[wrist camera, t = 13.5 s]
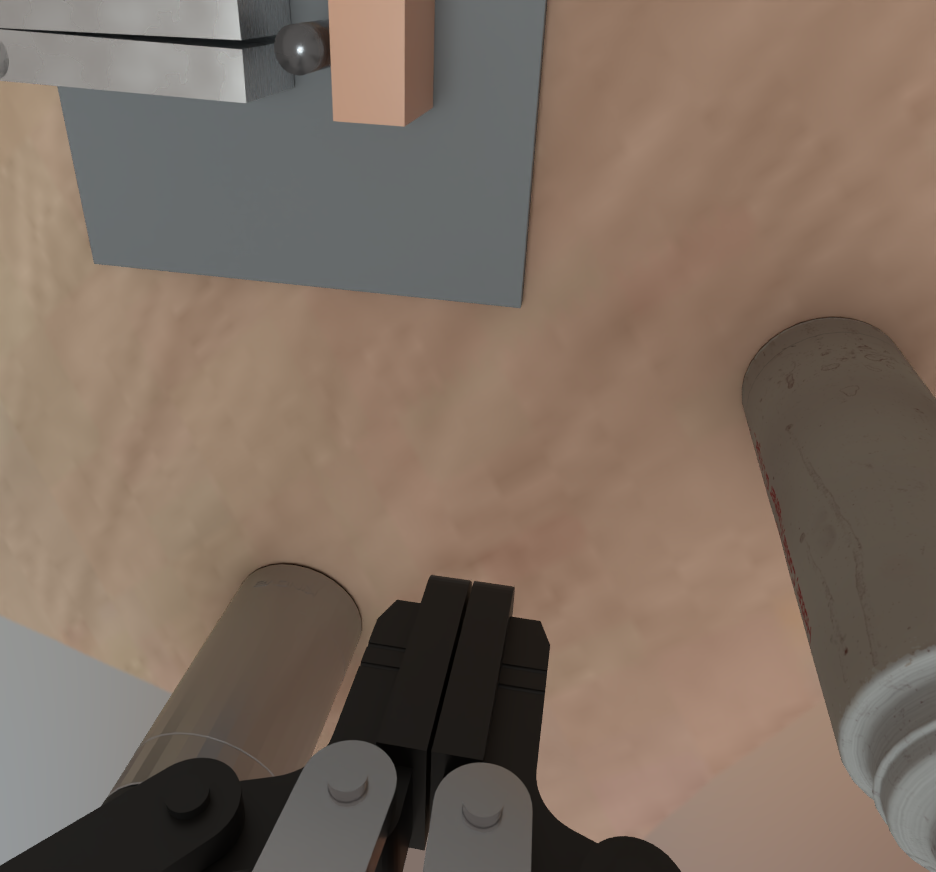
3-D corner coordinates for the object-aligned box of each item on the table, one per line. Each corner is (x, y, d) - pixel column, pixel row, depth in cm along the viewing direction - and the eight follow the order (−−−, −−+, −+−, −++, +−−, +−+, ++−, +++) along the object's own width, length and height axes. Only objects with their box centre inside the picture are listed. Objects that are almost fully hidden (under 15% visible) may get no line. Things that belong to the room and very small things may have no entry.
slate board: (522, 302, 41) (520, 307, 41) (102, 259, 44) (94, 263, 44) (561, -173, 31) (560, -177, 30) (12, -188, 34) (-1, -191, 33)
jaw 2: (292, 40, 36) (242, 49, 31) (294, 87, 37) (246, 103, 32) (42, 20, 37) (-42, 25, 33) (51, 66, 38) (-29, 78, 34)
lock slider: (435, -22, 34) (404, -23, 29) (432, 107, 36) (404, 126, 32) (368, -26, 34) (327, -26, 29) (370, 103, 37) (333, 121, 32)
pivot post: (363, 18, 35) (317, 25, 30) (364, 62, 36) (319, 76, 31) (325, 16, 35) (272, 22, 30) (326, 60, 36) (276, 73, 31)
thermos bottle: (767, 471, 44) (939, 1058, 20) (720, 351, 41) (856, 874, 17) (922, 425, 41) (1338, 1047, 17) (883, 291, 38) (1324, 821, 14)
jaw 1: (287, -19, 35) (235, -18, 30) (291, 32, 36) (241, 40, 31) (31, -29, 36) (-57, -30, 32) (42, 20, 37) (-42, 25, 33)
